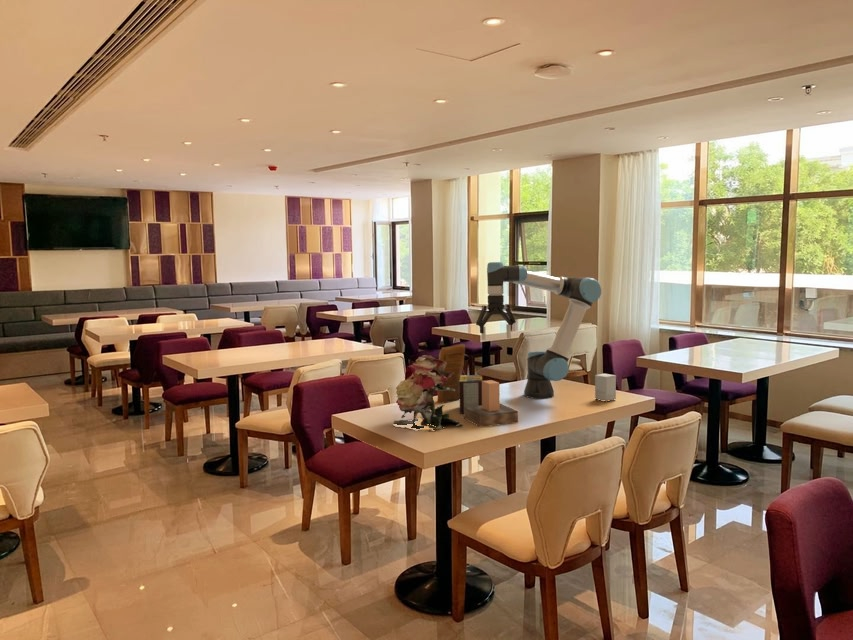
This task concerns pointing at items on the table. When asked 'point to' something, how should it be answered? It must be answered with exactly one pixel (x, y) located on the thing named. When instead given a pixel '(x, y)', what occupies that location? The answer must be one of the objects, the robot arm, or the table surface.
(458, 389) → the pancake mix bag
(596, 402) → the table surface
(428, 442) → the table surface
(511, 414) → the display podium
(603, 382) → the supplement box
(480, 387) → the protein box
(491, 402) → the carton
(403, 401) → the rose bouquet
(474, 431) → the table surface
